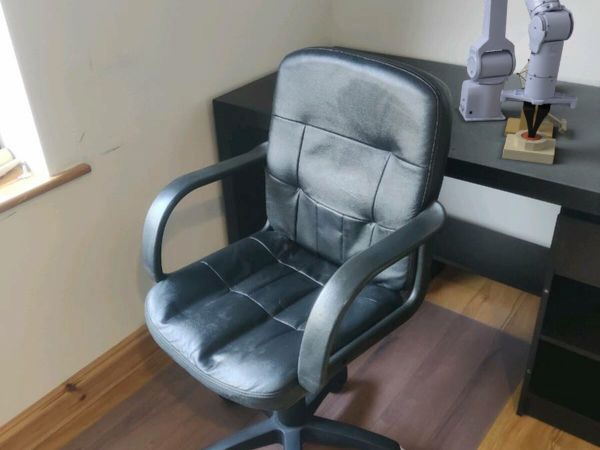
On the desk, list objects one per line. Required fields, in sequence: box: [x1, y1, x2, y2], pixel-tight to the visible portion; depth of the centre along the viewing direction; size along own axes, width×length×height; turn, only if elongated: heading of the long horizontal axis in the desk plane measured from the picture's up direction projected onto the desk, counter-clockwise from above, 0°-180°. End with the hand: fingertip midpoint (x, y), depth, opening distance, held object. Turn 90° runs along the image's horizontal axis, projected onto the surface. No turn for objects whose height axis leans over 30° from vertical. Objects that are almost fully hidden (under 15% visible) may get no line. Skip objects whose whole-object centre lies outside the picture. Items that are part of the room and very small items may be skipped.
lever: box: [545, 112, 568, 135], centre depth 138 cm, size 10×6×2 cm, turn 69°
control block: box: [501, 130, 557, 165], centre depth 131 cm, size 10×8×4 cm
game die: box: [515, 58, 530, 90], centre depth 160 cm, size 9×8×10 cm
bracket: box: [503, 102, 555, 139], centre depth 139 cm, size 10×8×8 cm
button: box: [522, 133, 540, 141], centre depth 131 cm, size 4×4×2 cm
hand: (531, 136), depth 130 cm, fingers closed, pressing on button
